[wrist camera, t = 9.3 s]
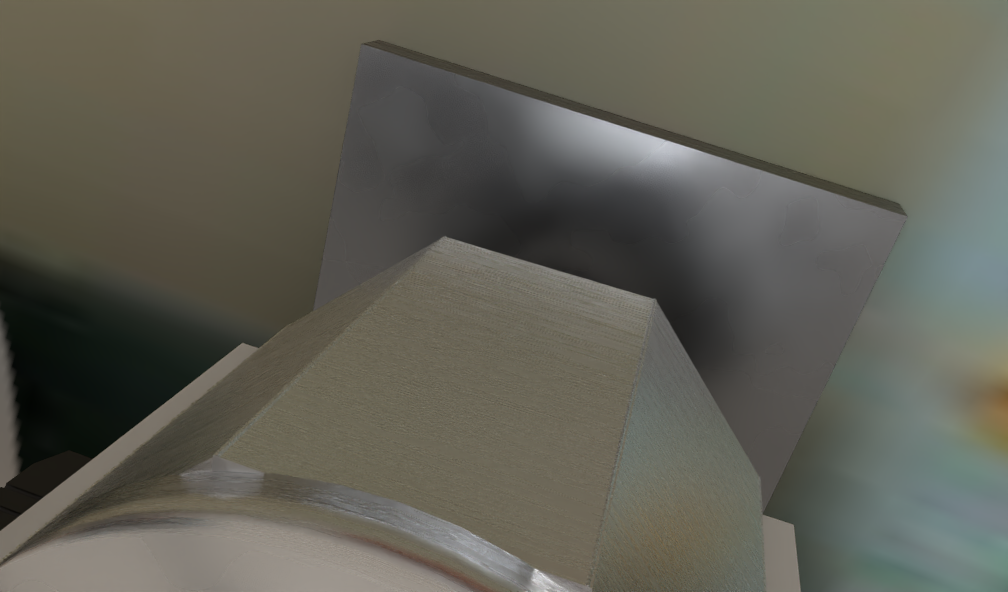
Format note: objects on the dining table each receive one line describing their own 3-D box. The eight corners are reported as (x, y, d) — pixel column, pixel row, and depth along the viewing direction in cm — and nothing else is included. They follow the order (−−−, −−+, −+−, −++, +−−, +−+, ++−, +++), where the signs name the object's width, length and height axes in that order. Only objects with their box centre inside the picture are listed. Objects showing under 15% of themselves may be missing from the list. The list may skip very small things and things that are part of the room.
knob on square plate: (299, 457, 24) (133, 647, 18) (378, 40, 20) (190, 81, 13) (702, 613, 23) (689, 885, 16) (899, 203, 18) (998, 350, 11)
